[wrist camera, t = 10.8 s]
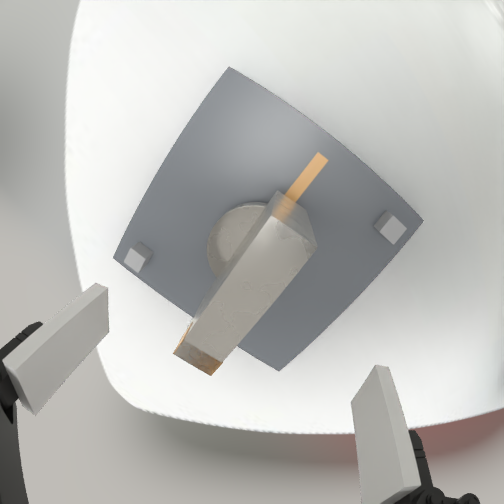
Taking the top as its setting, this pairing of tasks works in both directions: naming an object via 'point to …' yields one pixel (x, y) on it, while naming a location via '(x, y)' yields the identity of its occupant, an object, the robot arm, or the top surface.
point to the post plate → (262, 190)
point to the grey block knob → (246, 275)
